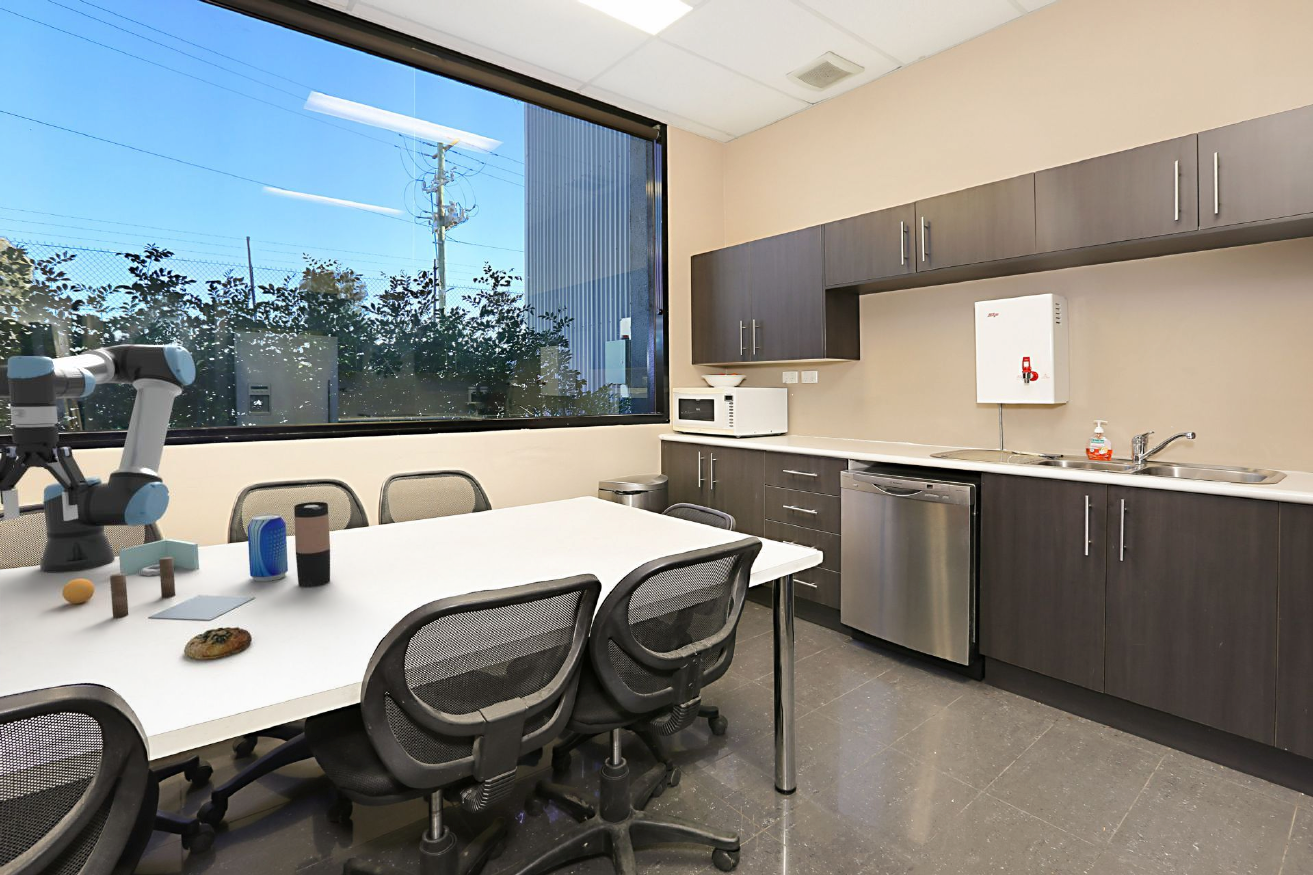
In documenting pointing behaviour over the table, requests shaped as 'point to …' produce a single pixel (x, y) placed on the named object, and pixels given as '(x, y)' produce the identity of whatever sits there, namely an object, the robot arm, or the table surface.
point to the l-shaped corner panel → (158, 556)
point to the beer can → (267, 547)
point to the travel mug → (312, 543)
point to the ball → (78, 591)
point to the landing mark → (202, 607)
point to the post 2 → (167, 577)
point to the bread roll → (218, 643)
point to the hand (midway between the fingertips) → (41, 519)
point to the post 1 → (119, 595)
